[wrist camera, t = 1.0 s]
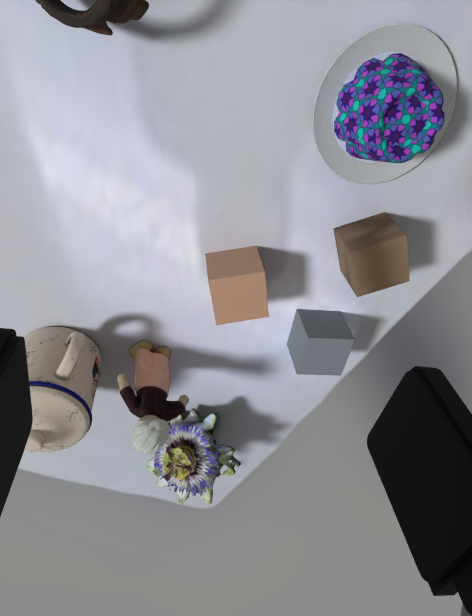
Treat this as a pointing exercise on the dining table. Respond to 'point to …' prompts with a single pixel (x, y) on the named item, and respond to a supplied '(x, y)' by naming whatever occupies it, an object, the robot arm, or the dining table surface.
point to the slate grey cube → (319, 342)
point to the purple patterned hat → (385, 104)
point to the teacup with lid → (60, 386)
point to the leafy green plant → (192, 457)
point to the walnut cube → (372, 254)
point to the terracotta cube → (237, 285)
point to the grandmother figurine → (150, 397)
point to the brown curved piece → (96, 13)
